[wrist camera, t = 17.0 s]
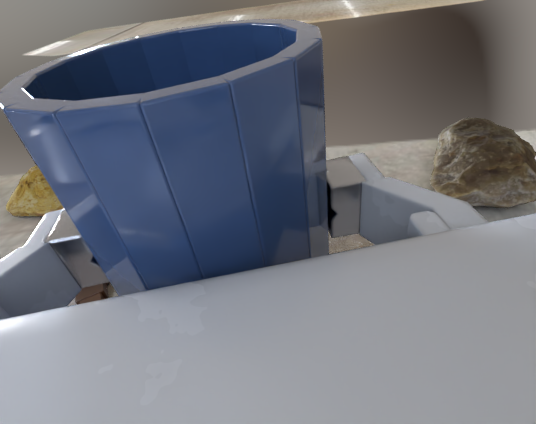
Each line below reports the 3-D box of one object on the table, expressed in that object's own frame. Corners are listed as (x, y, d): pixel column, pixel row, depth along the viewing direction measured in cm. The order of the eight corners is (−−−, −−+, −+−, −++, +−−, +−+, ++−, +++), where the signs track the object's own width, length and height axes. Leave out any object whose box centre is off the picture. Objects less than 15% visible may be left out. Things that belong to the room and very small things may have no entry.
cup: (288, 456, 10) (199, 126, 4) (129, 370, 12) (-74, 101, 6) (351, 289, 14) (359, 11, 8) (223, 252, 17) (155, 26, 11)
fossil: (-35, 176, 41) (32, 140, 48) (-14, 213, 44) (45, 174, 52) (43, 201, 39) (100, 159, 46) (58, 237, 43) (108, 193, 50)
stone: (419, 141, 42) (477, 89, 36) (466, 176, 43) (529, 131, 38) (424, 203, 33) (503, 146, 27) (483, 246, 34) (571, 200, 28)
